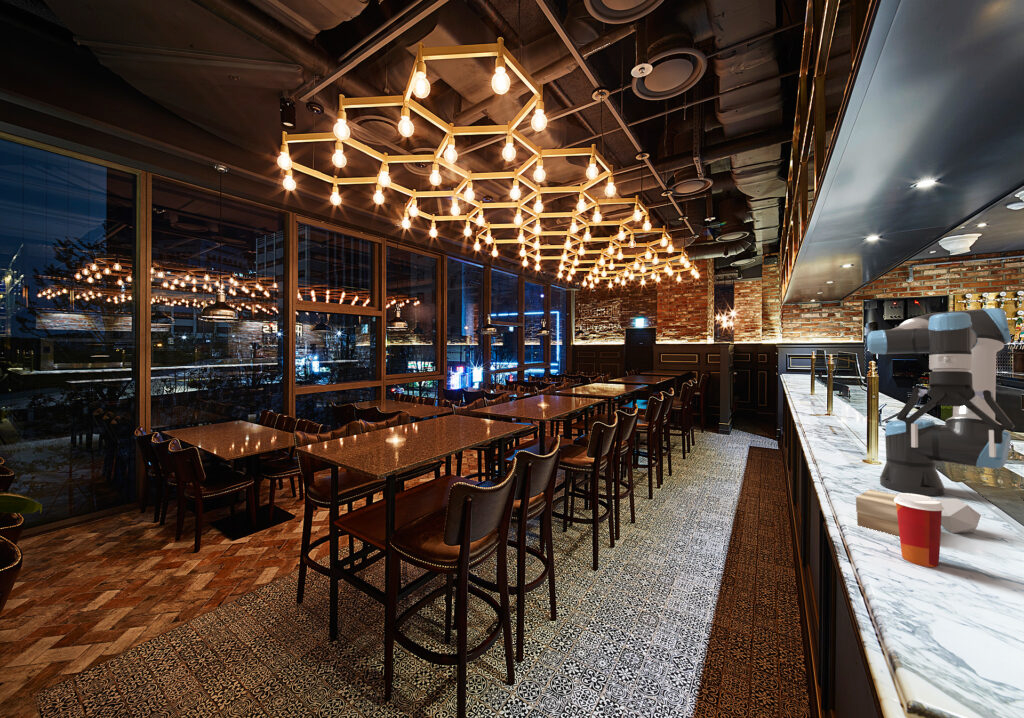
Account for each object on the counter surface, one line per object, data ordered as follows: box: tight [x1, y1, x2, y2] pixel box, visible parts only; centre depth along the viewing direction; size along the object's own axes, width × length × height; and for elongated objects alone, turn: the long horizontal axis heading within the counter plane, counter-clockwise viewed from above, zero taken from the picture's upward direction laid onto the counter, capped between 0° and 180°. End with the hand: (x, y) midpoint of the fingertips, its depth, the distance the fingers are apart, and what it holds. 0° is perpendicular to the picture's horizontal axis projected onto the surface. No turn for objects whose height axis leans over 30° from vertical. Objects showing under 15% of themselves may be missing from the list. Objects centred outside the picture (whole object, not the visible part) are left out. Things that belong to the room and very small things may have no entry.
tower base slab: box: [856, 512, 900, 538], centre depth 102 cm, size 11×11×4 cm
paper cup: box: [894, 492, 944, 569], centre depth 85 cm, size 8×8×14 cm
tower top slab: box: [855, 489, 898, 522], centre depth 102 cm, size 11×11×4 cm
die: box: [937, 498, 982, 534], centre depth 99 cm, size 8×9×10 cm
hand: (951, 451), depth 100 cm, fingers open, 13 cm apart
